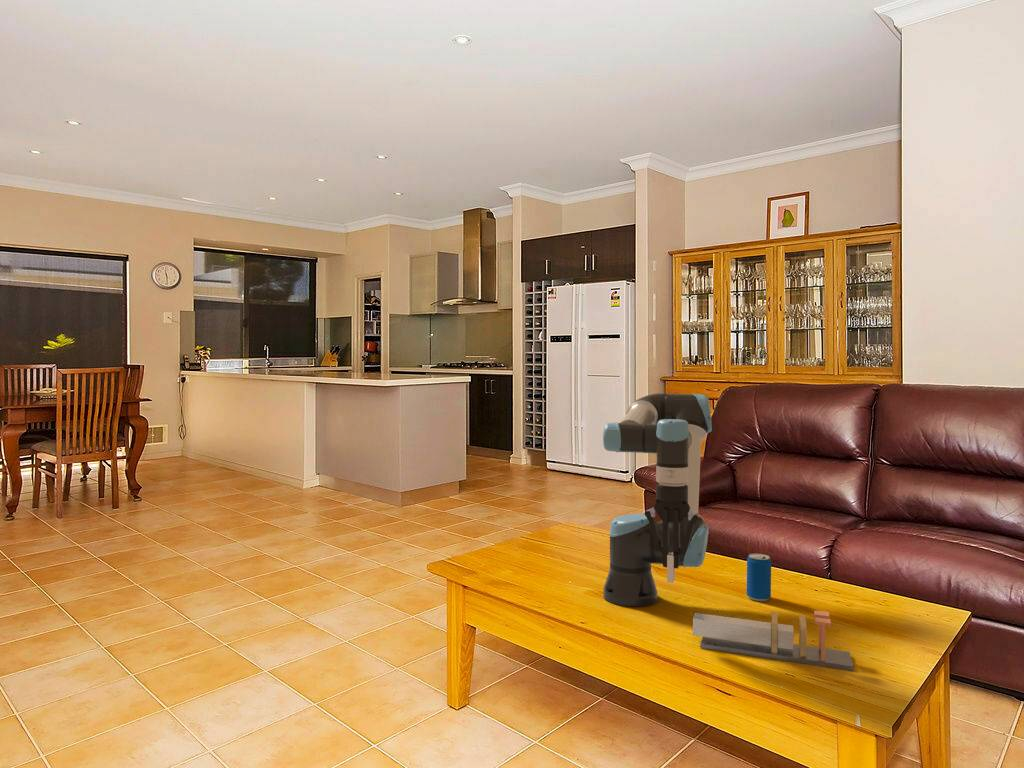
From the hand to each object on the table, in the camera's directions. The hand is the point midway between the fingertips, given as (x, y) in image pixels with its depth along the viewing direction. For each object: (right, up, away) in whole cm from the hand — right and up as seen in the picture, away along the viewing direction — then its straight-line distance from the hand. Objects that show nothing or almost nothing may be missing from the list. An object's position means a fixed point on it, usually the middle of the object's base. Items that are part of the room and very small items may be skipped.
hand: (670, 580), depth 164 cm
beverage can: (+32, -13, +28) cm, 44 cm away
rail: (+22, -14, -8) cm, 27 cm away
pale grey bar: (+15, -12, -5) cm, 20 cm away
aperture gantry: (+31, -14, -11) cm, 36 cm away
